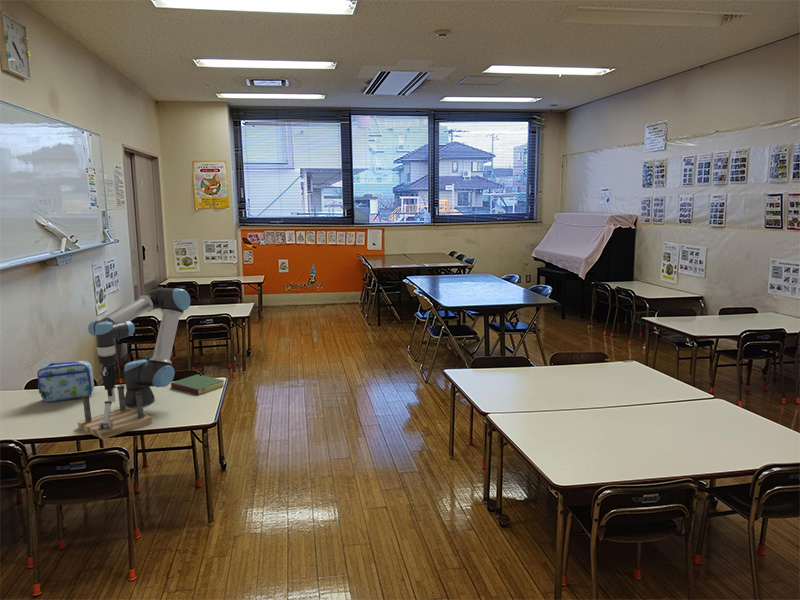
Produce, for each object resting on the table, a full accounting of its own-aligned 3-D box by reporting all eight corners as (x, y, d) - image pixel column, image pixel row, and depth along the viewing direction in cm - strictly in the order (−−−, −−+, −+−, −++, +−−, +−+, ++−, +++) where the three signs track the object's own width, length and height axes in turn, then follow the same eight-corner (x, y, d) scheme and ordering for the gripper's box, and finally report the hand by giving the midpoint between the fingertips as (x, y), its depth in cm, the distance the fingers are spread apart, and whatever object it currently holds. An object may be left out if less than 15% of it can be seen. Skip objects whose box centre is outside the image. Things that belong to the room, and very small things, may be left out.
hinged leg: (109, 428, 259) (107, 428, 257) (103, 429, 258) (101, 428, 256) (112, 402, 264) (110, 401, 261) (106, 402, 263) (104, 401, 261)
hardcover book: (171, 388, 325) (170, 382, 325) (198, 380, 341) (197, 374, 340) (198, 395, 312) (198, 389, 311) (225, 386, 328) (225, 380, 327)
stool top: (78, 427, 268) (74, 396, 265) (126, 412, 287) (123, 383, 284) (102, 439, 254) (99, 406, 251) (152, 422, 273) (149, 391, 270)
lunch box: (38, 404, 301) (33, 367, 298) (44, 397, 311) (39, 362, 308) (92, 398, 309) (87, 362, 306) (95, 392, 319) (91, 357, 316)
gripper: (103, 351, 269) (108, 397, 273) (93, 358, 256) (98, 407, 260) (120, 350, 270) (124, 396, 274) (110, 357, 257) (115, 405, 261)
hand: (111, 401), depth 267 cm, fingers closed
